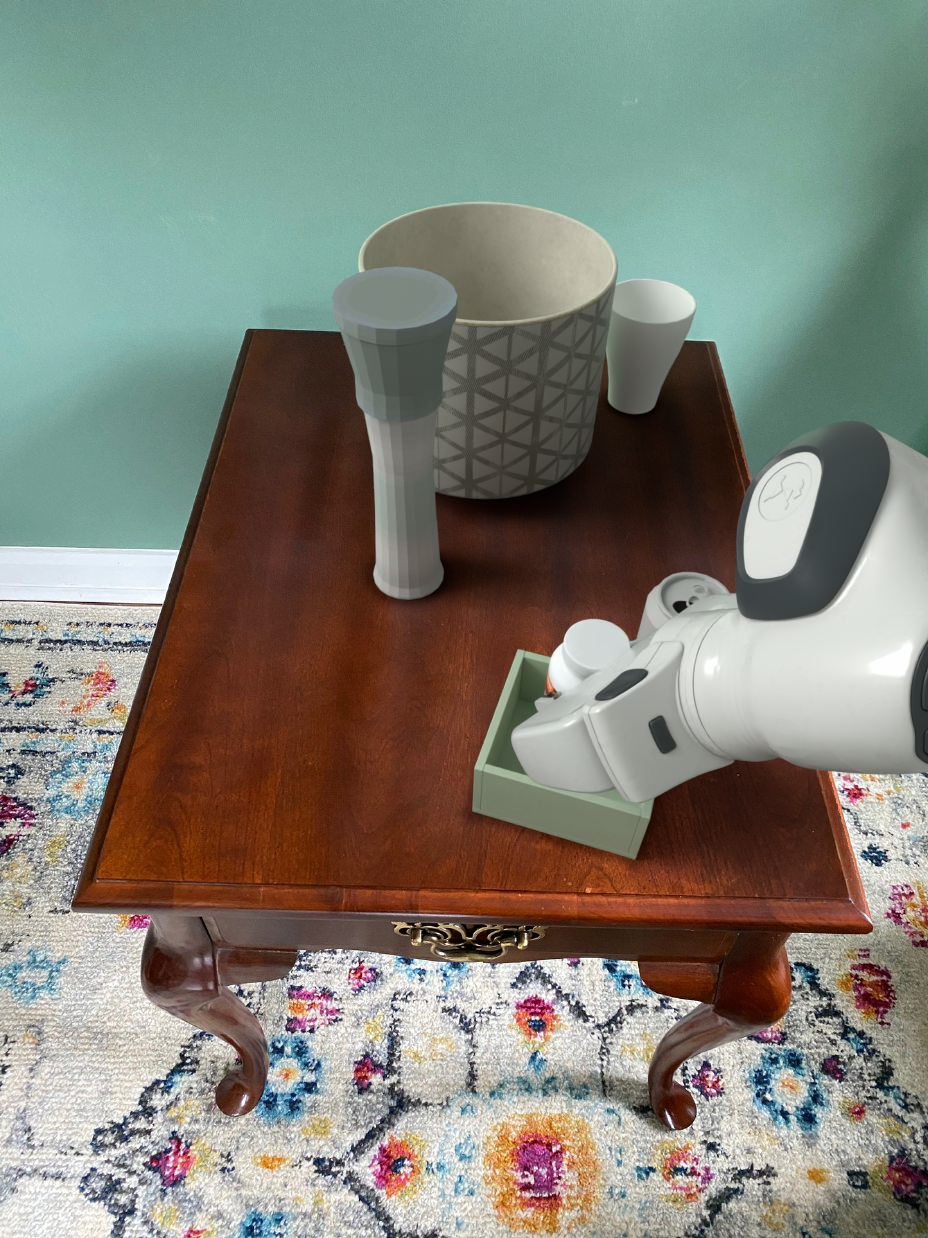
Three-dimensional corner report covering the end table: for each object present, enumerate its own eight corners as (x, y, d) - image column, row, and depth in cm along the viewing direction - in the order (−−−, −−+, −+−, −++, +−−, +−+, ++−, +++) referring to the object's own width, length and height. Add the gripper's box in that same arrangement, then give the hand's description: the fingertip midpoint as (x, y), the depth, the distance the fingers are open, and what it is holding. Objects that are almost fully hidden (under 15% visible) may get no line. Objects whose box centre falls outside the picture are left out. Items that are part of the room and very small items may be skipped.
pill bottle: (525, 716, 69) (536, 626, 61) (590, 689, 71) (609, 598, 63) (565, 776, 65) (583, 689, 57) (632, 746, 67) (659, 658, 59)
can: (613, 699, 77) (636, 610, 68) (642, 643, 82) (666, 552, 73) (693, 732, 75) (727, 644, 66) (718, 673, 79) (753, 583, 70)
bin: (660, 734, 75) (676, 689, 70) (635, 860, 67) (650, 819, 62) (513, 695, 77) (518, 648, 72) (472, 811, 70) (474, 768, 65)
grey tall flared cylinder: (472, 564, 88) (481, 287, 66) (421, 622, 83) (411, 342, 61) (397, 530, 92) (380, 255, 69) (342, 584, 86) (305, 305, 64)
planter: (612, 422, 105) (646, 226, 87) (548, 552, 90) (573, 347, 72) (426, 376, 111) (422, 185, 93) (336, 491, 96) (310, 288, 78)
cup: (587, 375, 112) (602, 276, 102) (668, 379, 112) (690, 279, 102) (592, 423, 105) (608, 321, 95) (678, 426, 105) (703, 325, 95)
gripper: (799, 560, 56) (658, 580, 68) (573, 724, 47) (458, 713, 59) (835, 646, 57) (689, 650, 69) (620, 822, 48) (497, 791, 60)
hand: (581, 680), depth 64 cm, fingers closed on pill bottle, 6 cm apart
